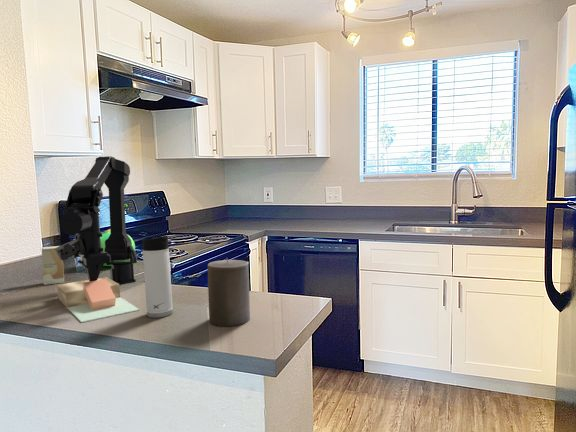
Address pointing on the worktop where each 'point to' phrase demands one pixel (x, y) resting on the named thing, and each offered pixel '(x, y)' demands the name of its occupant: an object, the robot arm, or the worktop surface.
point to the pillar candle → (228, 292)
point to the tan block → (80, 292)
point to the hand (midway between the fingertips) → (92, 285)
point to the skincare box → (52, 266)
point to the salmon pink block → (99, 294)
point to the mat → (102, 310)
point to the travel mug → (157, 277)
